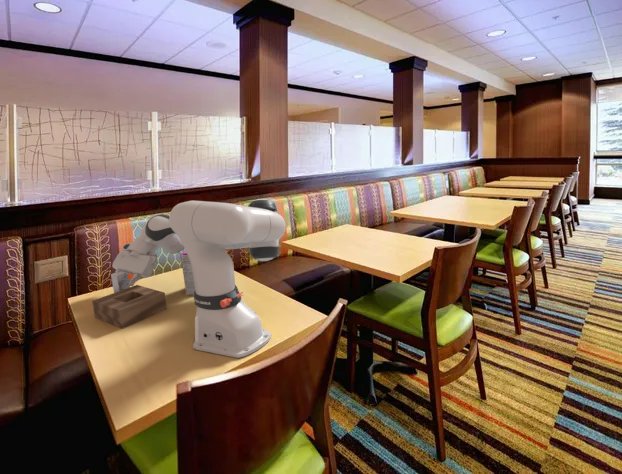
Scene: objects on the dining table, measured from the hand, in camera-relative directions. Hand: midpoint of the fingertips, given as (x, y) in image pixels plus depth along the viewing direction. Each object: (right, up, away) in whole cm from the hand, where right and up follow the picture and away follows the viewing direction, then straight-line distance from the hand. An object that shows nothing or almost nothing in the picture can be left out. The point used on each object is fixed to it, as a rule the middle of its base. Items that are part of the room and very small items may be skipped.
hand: (122, 283), depth 135 cm
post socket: (+9, -9, -12) cm, 17 cm away
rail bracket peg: (0, -6, +1) cm, 6 cm away
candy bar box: (+25, -4, +7) cm, 27 cm away
